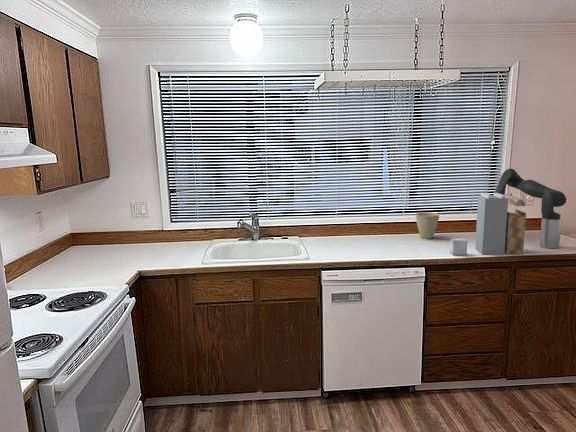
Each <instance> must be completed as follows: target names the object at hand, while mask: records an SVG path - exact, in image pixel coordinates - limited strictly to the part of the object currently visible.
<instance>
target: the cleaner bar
mask: <svg viewBox="0 0 576 432" xmlns="http://www.w3.org/2000/svg"><path fill="white" fill-rule="evenodd" d="M509 194H510V193H509ZM509 194H508V193H505V194H504V195H505V197H506V198H508V204H510V205H513V206H516V207H525V206H526V202H525V200H524V199H523V198H520V197H517V196H514V195H513V194H512V195H509Z"/></svg>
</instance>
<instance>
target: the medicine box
mask: <svg viewBox="0 0 576 432" xmlns="http://www.w3.org/2000/svg"><path fill="white" fill-rule="evenodd" d="M449 248H450V250H449V253H450V255H452V256H467V254H468V252H467V251H468V239H466V238H451V239H450V247H449Z"/></svg>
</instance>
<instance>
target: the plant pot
mask: <svg viewBox="0 0 576 432" xmlns="http://www.w3.org/2000/svg"><path fill="white" fill-rule="evenodd" d="M415 219H416V225H417V229H418V230H417V231H418V233H419V236H420V238H421V239H424V240H431V239H433V238H434V237H435V233H436V230H437V226H438V224H439V219H440V214H439V213H436V212H427V211H426V212H417V213H415Z"/></svg>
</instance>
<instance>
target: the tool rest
mask: <svg viewBox="0 0 576 432" xmlns="http://www.w3.org/2000/svg"><path fill="white" fill-rule="evenodd" d="M526 218H527V213H526V212H524V211H522V210H519V209H517V208H515V209H514V212H510V211H507V222H506V236H505V250H504V255H524V249H525V248H524V246H525V233H526V222H527V219H526Z"/></svg>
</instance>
